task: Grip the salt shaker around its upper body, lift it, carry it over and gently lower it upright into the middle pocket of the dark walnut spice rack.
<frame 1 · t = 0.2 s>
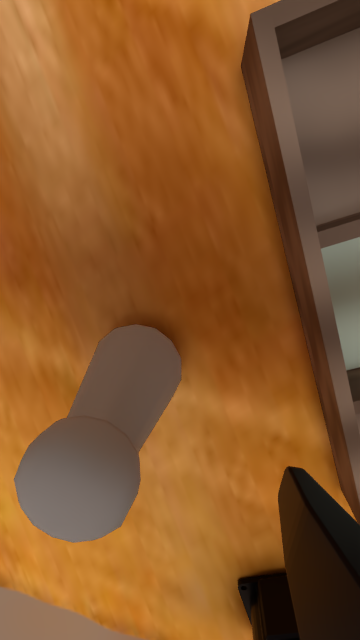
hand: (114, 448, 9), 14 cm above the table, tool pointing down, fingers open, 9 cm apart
salt shaker: (144, 353, 23), on the table
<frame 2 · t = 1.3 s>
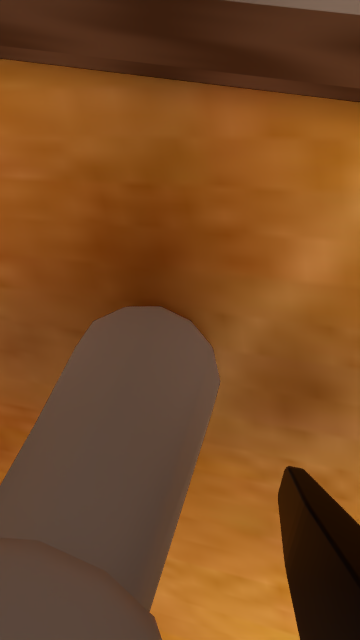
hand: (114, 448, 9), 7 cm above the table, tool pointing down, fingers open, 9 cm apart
salt shaker: (155, 353, 15), on the table
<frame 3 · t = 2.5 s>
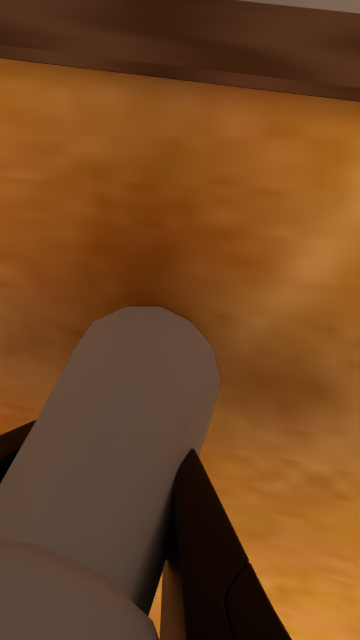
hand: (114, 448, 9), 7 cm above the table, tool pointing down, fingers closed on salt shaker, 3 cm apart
salt shaker: (156, 354, 15), on the table, touching gripper
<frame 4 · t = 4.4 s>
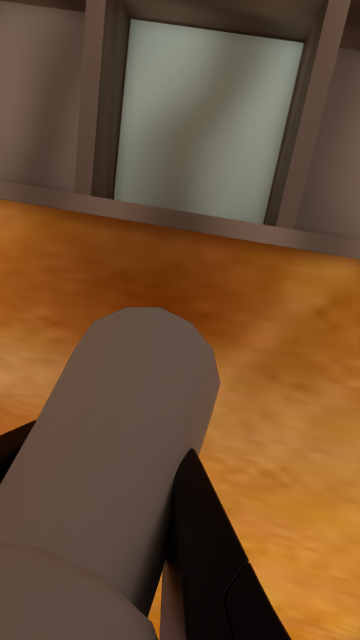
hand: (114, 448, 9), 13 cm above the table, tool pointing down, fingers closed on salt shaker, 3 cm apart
salt shaker: (155, 354, 15), point 6 cm above the table, touching gripper
spice rack: (201, 134, 18), on the table
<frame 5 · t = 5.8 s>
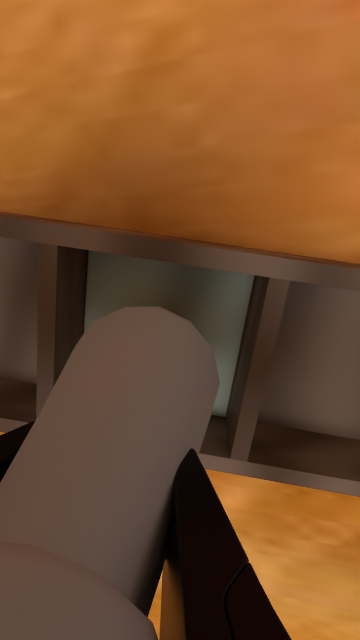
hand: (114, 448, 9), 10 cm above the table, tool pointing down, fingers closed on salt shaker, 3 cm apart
salt shaker: (155, 354, 15), point 4 cm above the table, touching gripper
spice rack: (164, 328, 18), on the table
when the fingers open (9 cm above the table, at t = 6.8 s): salt shaker drops 1 cm, resting on spice rack.
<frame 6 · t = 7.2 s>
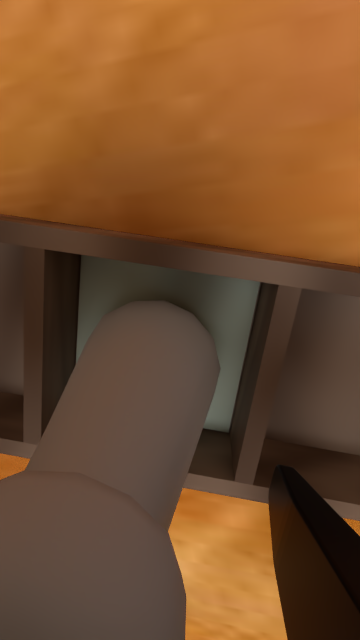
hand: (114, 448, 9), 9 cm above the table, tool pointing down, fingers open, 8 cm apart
salt shaker: (160, 345, 16), point 1 cm above the table, touching spice rack
spice rack: (163, 337, 17), on the table
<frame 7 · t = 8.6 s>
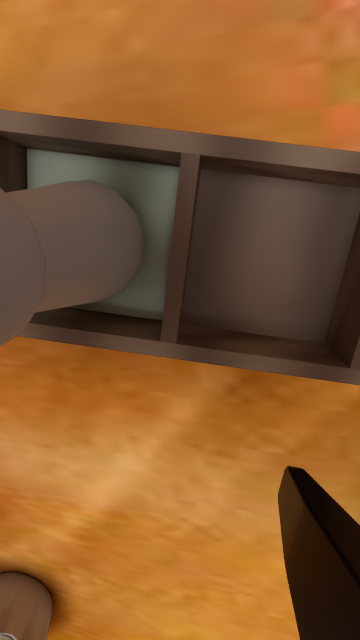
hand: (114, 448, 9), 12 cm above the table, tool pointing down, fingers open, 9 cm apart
salt shaker: (102, 241, 18), point 1 cm above the table, touching spice rack
spice rack: (106, 239, 19), on the table
cupcake: (21, 594, 29), on the table
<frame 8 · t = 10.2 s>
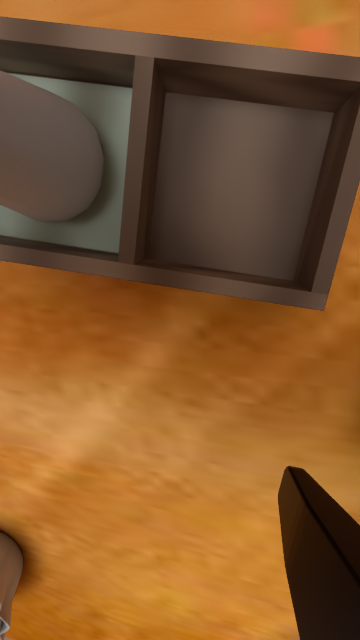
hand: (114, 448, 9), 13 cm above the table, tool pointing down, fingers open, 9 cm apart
salt shaker: (68, 170, 18), point 1 cm above the table, touching spice rack
spice rack: (74, 171, 19), on the table
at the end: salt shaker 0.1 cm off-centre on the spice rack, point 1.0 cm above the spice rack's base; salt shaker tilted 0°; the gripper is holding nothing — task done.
